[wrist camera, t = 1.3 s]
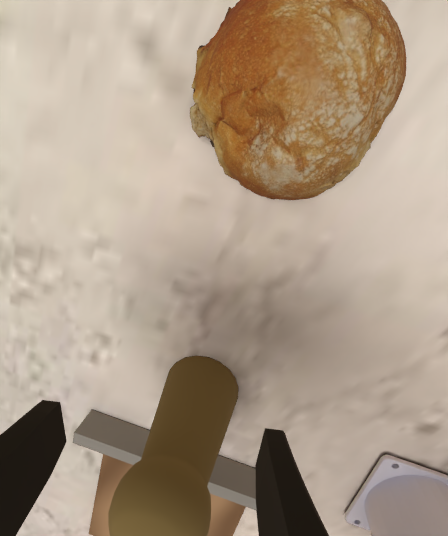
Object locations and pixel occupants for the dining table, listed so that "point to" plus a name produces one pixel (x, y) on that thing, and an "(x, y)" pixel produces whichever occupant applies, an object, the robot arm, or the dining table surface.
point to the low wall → (132, 446)
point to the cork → (178, 455)
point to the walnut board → (111, 473)
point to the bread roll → (297, 91)
